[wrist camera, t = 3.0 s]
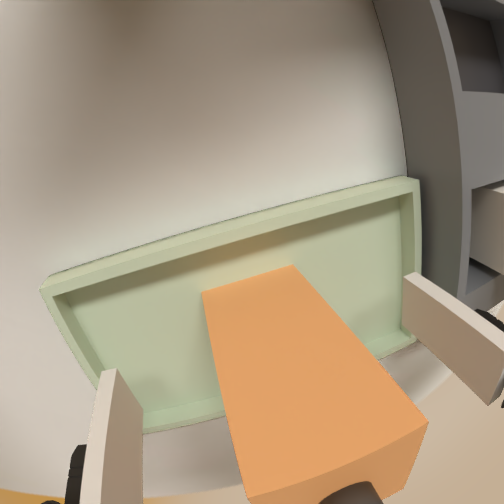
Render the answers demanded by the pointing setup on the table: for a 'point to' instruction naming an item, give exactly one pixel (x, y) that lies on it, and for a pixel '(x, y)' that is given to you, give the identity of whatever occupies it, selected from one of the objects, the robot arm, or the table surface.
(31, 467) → the table surface
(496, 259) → the white knobbed peg block
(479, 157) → the grey two-slot holder
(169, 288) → the tray
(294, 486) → the orange knobbed block
